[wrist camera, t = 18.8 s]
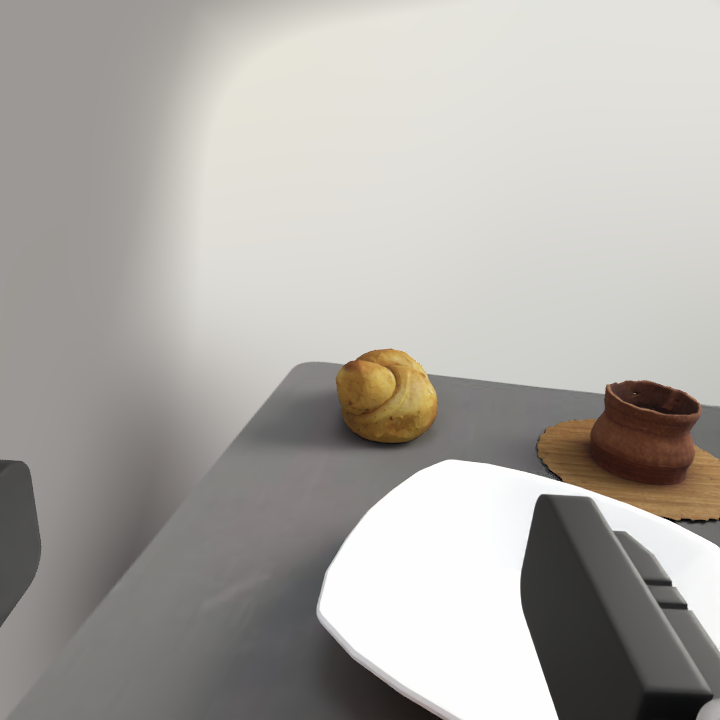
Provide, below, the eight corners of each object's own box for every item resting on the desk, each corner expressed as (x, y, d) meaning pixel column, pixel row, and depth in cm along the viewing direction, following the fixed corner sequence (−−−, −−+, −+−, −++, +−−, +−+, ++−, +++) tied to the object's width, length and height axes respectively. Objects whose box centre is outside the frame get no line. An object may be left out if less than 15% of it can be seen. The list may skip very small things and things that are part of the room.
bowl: (730, 605, 40) (754, 539, 38) (741, 982, 22) (788, 893, 20) (426, 497, 49) (433, 440, 47) (260, 698, 31) (260, 619, 29)
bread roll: (346, 390, 68) (350, 322, 65) (433, 398, 67) (441, 330, 64) (329, 446, 56) (333, 366, 53) (434, 457, 55) (444, 376, 52)
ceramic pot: (564, 405, 68) (576, 346, 65) (746, 455, 59) (768, 390, 57) (511, 474, 53) (524, 401, 51) (742, 553, 45) (772, 471, 42)
